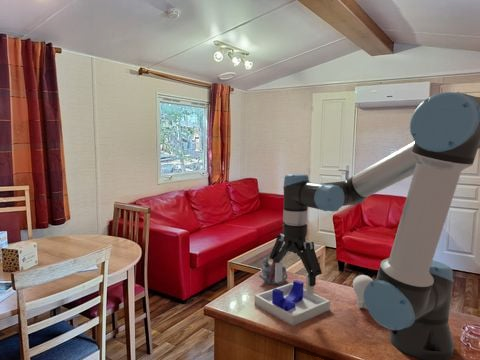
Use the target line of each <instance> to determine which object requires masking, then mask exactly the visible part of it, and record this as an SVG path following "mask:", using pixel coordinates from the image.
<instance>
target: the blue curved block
mask: <svg viewBox="0 0 480 360" xmlns="http://www.w3.org/2000/svg"><path fill="white" fill-rule="evenodd" d="M292 283H293V287H292V290H291V292H290V293H289V295H288V296H287V297H285V298H284V296H283V291H280V290H278V289H275V288H273V289H274V290H273V293H272V303H273V304H274V305H276V306H278V307H280V308H282V309H283V310H285V311H289V310H291V309H293V308H295V303H298V302H300V301H302V300H303V289H304V282H303V281H300V280H298V279H295V280H293V282H292Z"/></svg>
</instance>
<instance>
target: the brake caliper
mask: <svg viewBox="0 0 480 360" xmlns="http://www.w3.org/2000/svg"><path fill="white" fill-rule="evenodd" d="M261 264H262V268H261V272H262V274H259V275H258V277H259V278H260V279H261V280H262V281H263V282H265V284H267V285H275V286H276V285H277V286H283V285H284V283H285V282H286V280H287V279H288V272H287V269H286V267H285V266H283V269H282V281H280V282H277V283H276V282H275V271H274V261H273V260H272V261H268V258H262V260H261Z"/></svg>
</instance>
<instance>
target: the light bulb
mask: <svg viewBox="0 0 480 360" xmlns="http://www.w3.org/2000/svg"><path fill="white" fill-rule="evenodd" d="M373 280H374V279H372V278H371V277H370V276H368V275H365V274H359V275H358V276H356V277H355V278H354V279H353V282H352V287H353V291H354V293H355V294H356V299H357V306H358V307H359V308H360V309H367V308H366V305H365V302H364V290H365V288H366V286H367V285H368V284H369V283H370V282H371V281H373Z"/></svg>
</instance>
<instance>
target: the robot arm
mask: <svg viewBox="0 0 480 360" xmlns="http://www.w3.org/2000/svg"><path fill="white" fill-rule="evenodd" d="M409 132H410V135H411V136H412V138H413V141H412V142H410V143H409V144H407V145H405V146H403V147H401V148H400V149H398V150H396V151H394V152H393V153H391V154H388V155H387V156H386V157H384V158H382V159H380V160H379V161H377V162H375V163H373V164H371V165H369V166H368V167H366V168H364V169H362V170H361V171H359V172H358V173H355V174H354V175H353V176H350V177H349V178H347V179H345V180H342V181H341V180H340V181H334V182H333V181H332V182H311V181H310V180H309V175H308V174H305V173H287V174H285V176H284V180H283V188H282V189H283V209H282V211H283V213H282V214H283V215H282V222H283V224H282V233H278V234H276V240H275V242H274V245H273V248H272V250H271V252H270V255H269V259H271V260H272V262H273V261H274V271H275V282H276V283H277V282H280V281H282V269H283V265H284V264H283V263H284V262H283V258H284V257H285V256H286V255H287V253H288V252H290V253H291V252H292V253H293V254H296V255H297V257H299V259H300V261H301V262H302V264H303V266H304V268H305V270H306V272H307V274H306V276H305V289H306V296H307V297H309V296H311V295H314V294H315V293H314V292H315V291H314V290H315V289H314V288H315V286H316V282H317V280H316V279H317V276H320V275H322V273H323V272H322V269H321V266H320V262H319V259H318V257H317V253H316V250H315V243H314V241H308V242H307V241H306V238H307V235H308V224H307V222H308V209H309V208H311V209H316V210H321V211H324V212H337V211H338V210H340V209H341V208H342V207H345V206H356V205H358V204H360V203H363V202H364V201H365V200H366V199H367V198H369V197H370V196H372V195H374V194H376V193H378V192H380V191H383V190H384V189H387V188H389V187H390V186H393V185H394V184H395V185H396V183H399V182H401V181H403V180H405V179H406V178H409V177H411V176H412V177H411V182H410V183H409V184H410V185H409V188H408V192H407V196H406V198H405V203H404V206H403V209H402V213H401V216H400V220H399V224H398V227H397V231H396V233H395V237H394V240H393V244H392V247H391V251H390V253H389V254H390V255H389V257H387V258H385V259H383V260H381V262H380V265H379V266H378V267H379V268H378V270H377V271H378V272H377V275H376V278H375V279H372V280H373V281H371V282H370V283H369V284H368V285H367V286H366V288H365V290H364V302H365V305H366V308H365V309H367V310H368V313H369V315H370V316H371V317H372V319H374V321H375V322H376V323H378V324H379V325H380V326H382V327H384V328H385V329H388V330H390V333H389V334H390V335H389V339H390V341H391V344H393V345H394V347H396V348H397V349H398V350H400V351H401V352H402V353H404V354H406V355H408V356H411V357H413V358H415V359H418V360H419V359H420V360H450V359H451V358H452V357H453V356H454V350H455V344H454V339H453V335H452V331H451V329H450V325H449V317H450V309H451V300H452V299H451V298H452V288H453V282H454V279H453V276H454V275H453V273H454V272H453V269H452V268H451V267H450V266H449V265H448V264H445V263H443V262H439V261H436V260H433V259H434V257H435V255H436V254H435V253H436V250H437V249H438V245H439V242H440V239H441V236H442V231H443V229H444V226H445V223H446V220H447V218H448V217H447V216H448V214H449V211H450V207H451V204H452V202H453V198H454V195H455V192H456V189H457V187H458V183H459V180H460V177H461V174H462V172H463V171H464V170H466V169H468V168H471V167H472V166H473V164H474V161H475V159H476V156H477V153H478V150H479V149H480V97H479V96H473V95H470V94H467V93H463V92H460V91H459V92H458V91H457V92H450V91H449V92H440V93H436V94H433V95H431V96H429V97H428V98H426V99H424V100H423V101H421V102H420V103H419V105H418V106H416V109H414V112H413V114H412V116H411V118H410V123H409Z"/></svg>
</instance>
